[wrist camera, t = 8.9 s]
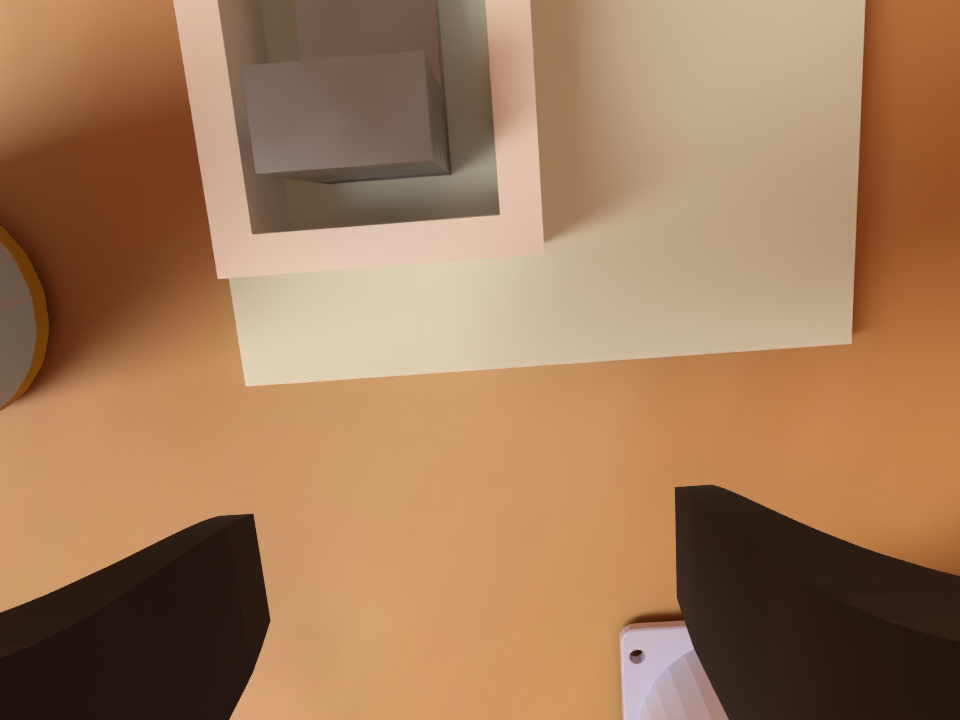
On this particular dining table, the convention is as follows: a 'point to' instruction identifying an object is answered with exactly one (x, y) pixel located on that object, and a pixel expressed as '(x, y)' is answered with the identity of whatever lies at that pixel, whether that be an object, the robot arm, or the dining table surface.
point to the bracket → (353, 95)
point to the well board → (552, 191)
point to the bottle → (19, 321)
